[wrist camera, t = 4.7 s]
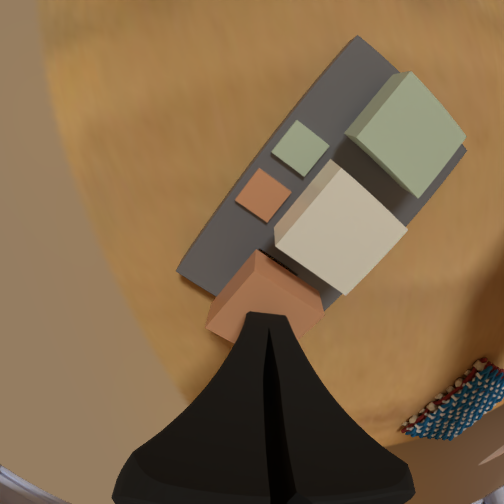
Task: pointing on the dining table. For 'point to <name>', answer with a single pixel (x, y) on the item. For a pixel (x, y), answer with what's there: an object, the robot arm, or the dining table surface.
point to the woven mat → (460, 404)
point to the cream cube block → (337, 229)
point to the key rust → (264, 298)
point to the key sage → (407, 132)
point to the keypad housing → (303, 174)
